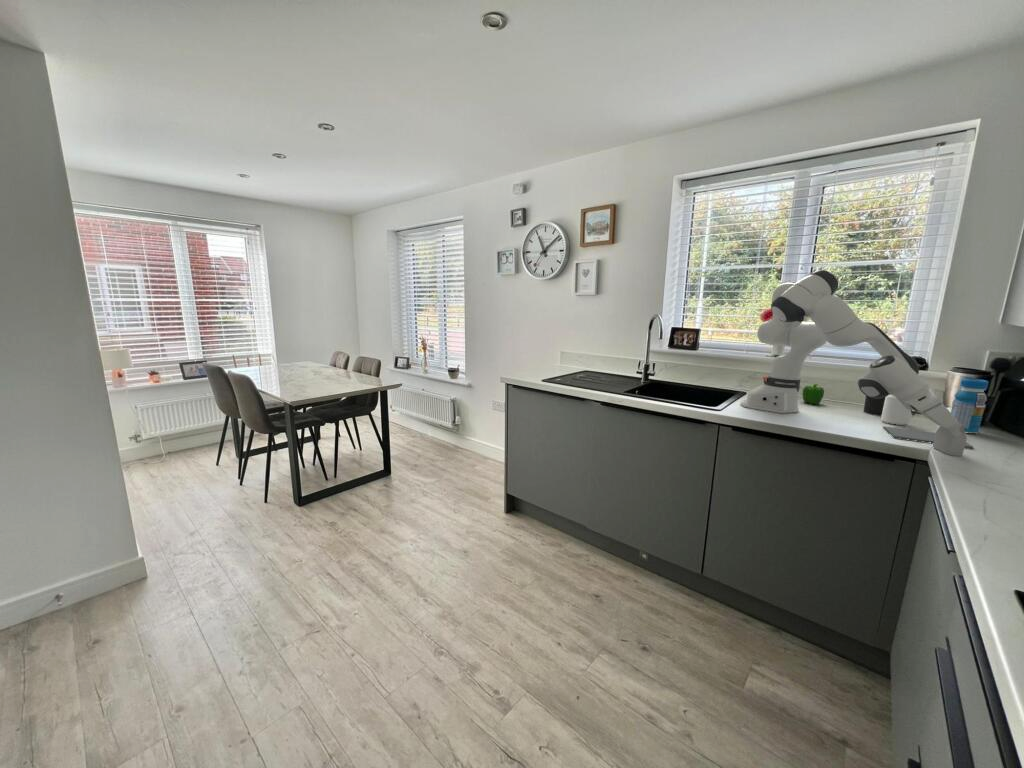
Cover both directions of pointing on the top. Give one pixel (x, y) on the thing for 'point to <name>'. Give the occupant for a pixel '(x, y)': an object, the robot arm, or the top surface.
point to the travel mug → (874, 405)
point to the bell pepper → (813, 394)
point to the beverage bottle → (970, 404)
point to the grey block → (950, 441)
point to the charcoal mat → (915, 435)
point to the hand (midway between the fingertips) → (952, 431)
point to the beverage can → (895, 411)
